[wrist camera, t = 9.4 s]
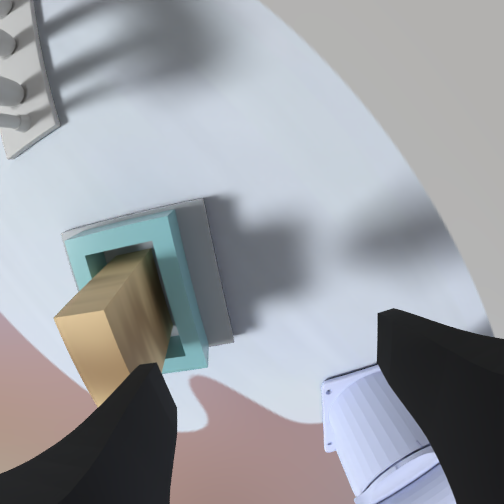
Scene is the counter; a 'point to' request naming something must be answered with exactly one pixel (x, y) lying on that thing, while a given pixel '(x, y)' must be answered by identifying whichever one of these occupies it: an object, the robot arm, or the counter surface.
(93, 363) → the plank
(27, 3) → the test tube rack
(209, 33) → the counter surface
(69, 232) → the stand
